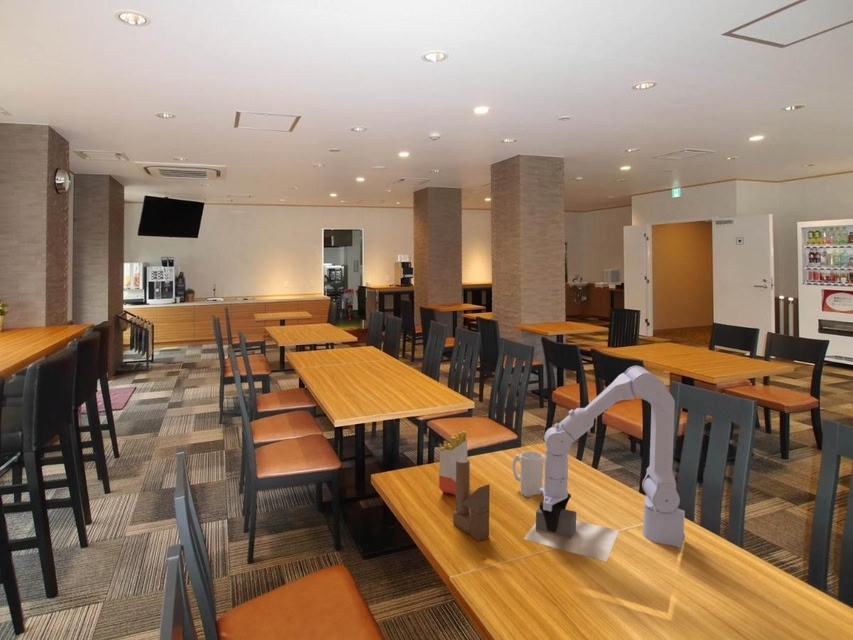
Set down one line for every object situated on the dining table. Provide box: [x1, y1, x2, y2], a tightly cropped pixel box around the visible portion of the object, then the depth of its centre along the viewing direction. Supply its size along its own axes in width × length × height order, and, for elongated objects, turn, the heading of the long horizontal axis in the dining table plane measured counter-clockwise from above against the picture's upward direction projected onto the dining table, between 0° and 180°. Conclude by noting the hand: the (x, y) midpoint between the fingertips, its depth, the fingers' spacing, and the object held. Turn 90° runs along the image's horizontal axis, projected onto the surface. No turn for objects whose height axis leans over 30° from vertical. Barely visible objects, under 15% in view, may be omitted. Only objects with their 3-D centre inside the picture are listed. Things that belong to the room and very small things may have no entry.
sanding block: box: [535, 506, 577, 539], centre depth 133 cm, size 9×5×5 cm, turn 60°
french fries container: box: [438, 430, 468, 496], centre depth 159 cm, size 5×11×18 cm, turn 150°
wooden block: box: [452, 458, 491, 542], centre depth 135 cm, size 4×11×18 cm, turn 35°
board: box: [523, 519, 620, 563], centre depth 132 cm, size 20×16×1 cm
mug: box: [512, 450, 544, 498], centre depth 158 cm, size 10×7×12 cm, turn 47°
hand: (554, 525), depth 134 cm, fingers closed on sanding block, 5 cm apart
